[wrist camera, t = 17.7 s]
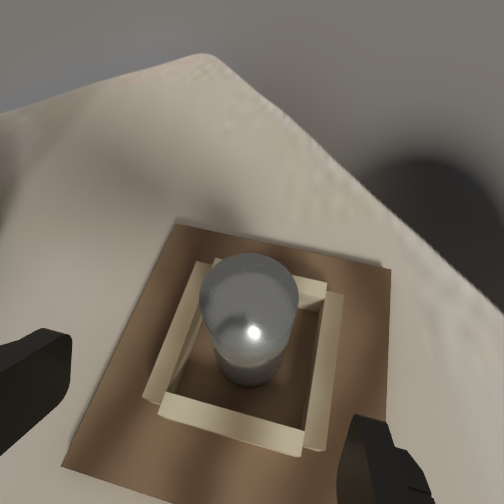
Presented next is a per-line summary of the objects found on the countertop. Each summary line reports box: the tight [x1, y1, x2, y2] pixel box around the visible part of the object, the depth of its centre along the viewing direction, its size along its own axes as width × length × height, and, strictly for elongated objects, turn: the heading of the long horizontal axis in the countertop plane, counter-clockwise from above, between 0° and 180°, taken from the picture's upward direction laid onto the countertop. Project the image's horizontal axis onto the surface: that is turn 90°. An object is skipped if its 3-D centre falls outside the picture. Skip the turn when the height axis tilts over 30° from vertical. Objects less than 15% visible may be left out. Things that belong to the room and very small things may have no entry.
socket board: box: [61, 224, 391, 504], centre depth 22 cm, size 18×18×4 cm
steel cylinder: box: [199, 253, 299, 388], centre depth 19 cm, size 4×4×9 cm
